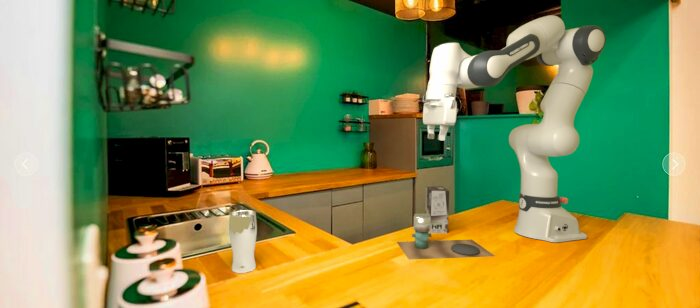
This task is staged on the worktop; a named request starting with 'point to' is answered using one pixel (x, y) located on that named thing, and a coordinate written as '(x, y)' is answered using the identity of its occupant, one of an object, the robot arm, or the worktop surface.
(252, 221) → the beer glass
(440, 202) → the coffee box
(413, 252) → the base board
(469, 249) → the pad
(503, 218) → the worktop surface
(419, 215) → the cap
